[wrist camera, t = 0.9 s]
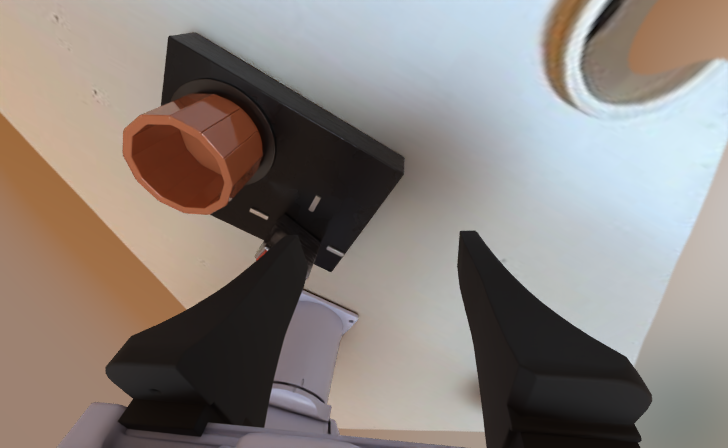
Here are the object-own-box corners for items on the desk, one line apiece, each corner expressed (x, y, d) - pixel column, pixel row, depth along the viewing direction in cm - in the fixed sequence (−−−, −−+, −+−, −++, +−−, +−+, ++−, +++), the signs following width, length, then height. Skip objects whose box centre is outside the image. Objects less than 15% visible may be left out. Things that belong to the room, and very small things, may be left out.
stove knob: (322, 242, 23) (307, 280, 20) (311, 250, 24) (295, 289, 21) (284, 213, 22) (263, 249, 19) (274, 223, 23) (252, 259, 19)
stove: (330, 261, 28) (323, 283, 26) (170, 184, 25) (148, 201, 23) (405, 157, 21) (404, 175, 19) (194, 31, 18) (165, 35, 16)
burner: (258, 200, 22) (257, 201, 21) (164, 152, 20) (162, 153, 20) (291, 118, 18) (290, 119, 18) (177, 53, 16) (175, 53, 16)
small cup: (251, 190, 21) (218, 229, 17) (173, 150, 20) (121, 183, 16) (276, 123, 18) (242, 154, 14) (185, 71, 17) (123, 91, 13)
